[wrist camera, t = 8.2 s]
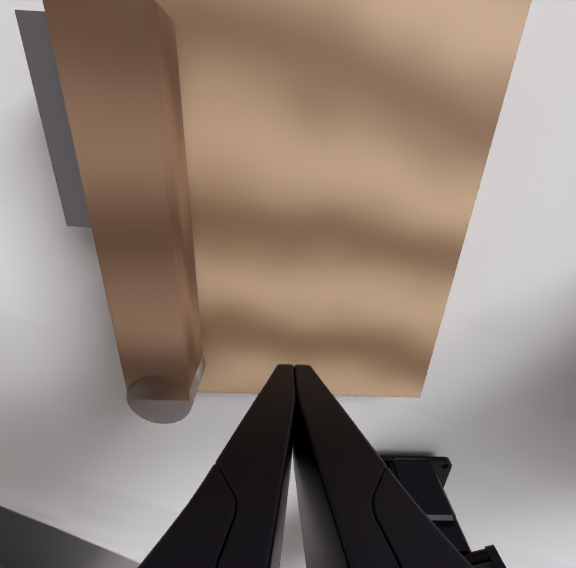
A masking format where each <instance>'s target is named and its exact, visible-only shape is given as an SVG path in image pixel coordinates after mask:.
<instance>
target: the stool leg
mask: <svg viewBox="0 0 576 568" xmlns="http://www.w3.org/2000/svg"><path fill="white" fill-rule="evenodd" d="M43 4H44V9H45V14H46V18H47V23H48V27H49V32H50V37H51V41H52V46H53V51H54V55H55V60H56V64H57V69H58V74H59V78H60V83H61V88H62V92H63V97H64V101H65V106H66V111H67V115H68V120H69V124H70V129H71V134H72V138H73V143H74V148H75V152H76V157H77V161H78V166H79V171H80V175H81V180H82V185H83V189H84V194H85V198H86V203H87V208H88V212H89V217H90V221H91V226H92V231H93V235H94V240H95V245H96V249H97V254H98V258H99V263H100V268H101V272H102V277H103V282H104V286H105V291H106V295H107V300H108V305H109V309H110V314H111V318H112V323H113V328H114V332H115V337H116V342H117V346H118V351H119V355H120V360H121V365H122V369H123V374H124V379H125V383H126V388H127V401H128V404H129V406H130V407H131V409H132V410H133V411H134V412H135V413H136V414H137V415H139V416H140V417H142V418H143V419H146V420H148V421H151V422H154V423H161V424H168V423H174V422H177V421H179V420H181V419H183V418H184V417H185V416H187V414H188V413H189V412H190V410H191V407H192V404H193V401H194V398H195V395H196V392H197V389H198V387H199V384H200V381H201V378H202V375H203V372H204V369H205V359H204V356H203V350H202V339H201V327H200V315H199V303H198V291H197V280H196V268H195V256H194V244H193V233H192V221H191V209H190V197H189V185H188V174H187V162H186V150H185V138H184V126H183V115H182V103H181V91H180V79H179V68H178V56H177V44H176V32H175V21H174V20H173V19H172V18H171V17H170V16H169V15H168V14H167V13H166V12H165V11H164V10H163V8H162V7H161V6H160V5H159V4H158V3H157V2H156V1H155V0H43Z"/></svg>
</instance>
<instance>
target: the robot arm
mask: <svg viewBox="0 0 576 568" xmlns="http://www.w3.org/2000/svg"><path fill="white" fill-rule="evenodd" d="M292 448H293V463H294V471H295V479H296V487H297V496H298V504H299V512H300V520H301V528H302V536H303V544H304V552H305V560H306V568H506V566H505V565H504V563H503V561H502V559H501V557H500V556H499V554H498V552H497V550H496V548H495V547H494V545H490V546H486V547H485V549H482V550H478V551H474V552H471V550H470V547H469V545H468V543H467V541H466V539H465V536H464V534H463V532H462V530H461V528H460V525H459V523H458V521H457V519H456V515H455V513H454V511H453V509H452V506H451V504H450V502H449V500H448V498H447V495H446V493H445V491H444V489H443V488H444V485H445V483H446V480H447V477H448V475H449V472H450V469H451V467H452V464H451V462H450V460H449V458H447V457H427V456H379V455H378V454H377V452H376V451H375V450H374V448H373V447H372V446H371V444H370V443H369V442H368V440H367V439H366V438H365V436H364V435H363V434H362V433H361V431H360V430H359V429H358V427H357V426H356V425H355V423H354V422H353V421H352V419H351V418H350V417H349V415H348V414H347V413H346V412H345V410H344V409H343V408H342V406H341V405H340V404H339V402H338V401H337V400H336V398H335V397H334V396H333V394H332V393H331V392H330V390H329V389H328V388H327V387H326V385H325V384H324V383H323V381H322V380H321V379H320V377H319V376H318V375H317V373H316V372H315V371H314V369H313V368H312V367H311V366H310V365H303V364H296V365H295V366H293V365H292V364H278V365H277V366H276V368H275V369H274V371H273V372H272V374H271V376H270V377H269V379H268V380H267V382H266V383H265V385H264V387H263V388H262V390H261V391H260V393H259V394H258V396H257V398H256V399H255V401H254V402H253V404H252V405H251V407H250V409H249V410H248V412H247V413H246V415H245V416H244V418H243V420H242V421H241V423H240V424H239V426H238V427H237V429H236V431H235V432H234V434H233V435H232V437H231V438H230V440H229V442H228V443H227V445H226V446H225V448H224V449H223V451H222V453H221V454H220V456H219V457H218V459H217V460H216V464H215V465H213V466H212V468H211V470H210V471H209V473H208V474H207V476H206V477H205V479H204V481H203V482H202V484H201V485H200V486H199V488H198V489H197V491H196V492H195V494H194V495H193V497H192V498H191V500H190V501H189V503H188V504H187V505H186V507H185V508H184V509H183V511H182V512H181V513H180V515H179V516H178V517H177V519H176V520H175V521H174V522H173V524H172V525H171V526H170V528H169V529H168V530H167V532H166V533H165V534H164V535H163V537H162V538H161V539H160V540H159V542H158V543H157V544H156V545H155V547H154V548H153V549H152V550H151V552H150V553H149V554H148V555H147V557H146V558H145V559H144V560H143V562H142V563H141V564H140V565H139V567H138V568H279V566H280V557H281V549H282V540H283V531H284V522H285V514H286V505H287V496H288V487H289V479H290V470H291V460H292Z"/></svg>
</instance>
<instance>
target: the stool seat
mask: <svg viewBox="0 0 576 568" xmlns="http://www.w3.org/2000/svg"><path fill="white" fill-rule="evenodd" d="M155 1H156V2H157V3H158V4H159V5H160V6H161V7H162V8H163V10H164V11H165V12H166V13H167V14H168V15H169V16H170V17H171V18H172V19H173V20H174V21H175V32H176V44H177V56H178V68H179V79H180V91H181V103H182V115H183V126H184V138H185V150H186V162H187V174H188V185H189V197H190V209H191V221H192V233H193V244H194V256H195V268H196V280H197V291H198V303H199V315H200V327H201V339H202V350H203V356H204V359H205V369H204V372H203V375H202V378H201V381H200V384H199V387H198V389H197V392H228V393H260V391H261V390H262V388H263V387H264V385H265V383H266V382H267V380H268V379H269V377H270V376H271V374H272V372H273V371H274V369H275V368H276V366H277V365H278V364H292V365H293V366H295V365H296V364H303V365H310V366H311V367H312V368H313V369H314V371H315V372H316V373H317V375H318V376H319V377H320V379H321V380H322V381H323V383H324V384H325V385H326V387H327V388H328V389H329V390H330V392H331V393H332V394H333V395H343V396H382V397H420V395H421V392H422V388H423V384H424V381H425V377H426V374H427V370H428V367H429V363H430V360H431V356H432V352H433V349H434V345H435V342H436V338H437V335H438V331H439V328H440V324H441V320H442V317H443V313H444V310H445V306H446V303H447V299H448V296H449V292H450V288H451V285H452V281H453V278H454V274H455V271H456V267H457V264H458V260H459V256H460V253H461V249H462V246H463V242H464V239H465V235H466V232H467V228H468V224H469V221H470V217H471V214H472V210H473V207H474V203H475V200H476V196H477V192H478V189H479V185H480V182H481V178H482V175H483V171H484V168H485V164H486V161H487V157H488V153H489V150H490V146H491V143H492V139H493V136H494V132H495V129H496V125H497V121H498V118H499V114H500V111H501V107H502V104H503V100H504V97H505V93H506V89H507V86H508V82H509V79H510V75H511V72H512V68H513V65H514V61H515V57H516V54H517V50H518V47H519V43H520V40H521V36H522V33H523V29H524V25H525V22H526V18H527V15H528V11H529V8H530V4H531V1H532V0H155ZM15 14H16V18H17V22H18V26H19V30H20V34H21V38H22V43H23V47H24V51H25V55H26V59H27V63H28V67H29V71H30V75H31V79H32V84H33V88H34V92H35V96H36V100H37V104H38V108H39V112H40V116H41V120H42V125H43V129H44V133H45V137H46V141H47V145H48V149H49V153H50V157H51V161H52V166H53V170H54V174H55V178H56V182H57V186H58V190H59V194H60V198H61V202H62V207H63V211H64V215H65V219H66V223H67V226H80V227H92V226H91V221H90V217H89V212H88V208H87V203H86V198H85V194H84V189H83V185H82V180H81V175H80V171H79V166H78V161H77V157H76V152H75V148H74V143H73V138H72V134H71V129H70V124H69V120H68V115H67V111H66V106H65V101H64V97H63V92H62V88H61V83H60V78H59V74H58V69H57V64H56V60H55V55H54V51H53V46H52V41H51V37H50V32H49V27H48V23H47V18H46V14H45V12H42V11H25V10H15Z"/></svg>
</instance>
